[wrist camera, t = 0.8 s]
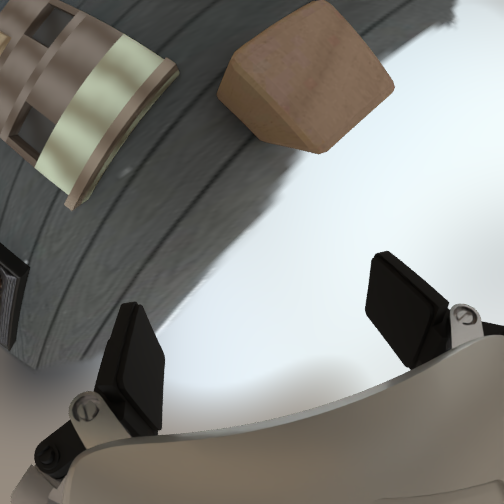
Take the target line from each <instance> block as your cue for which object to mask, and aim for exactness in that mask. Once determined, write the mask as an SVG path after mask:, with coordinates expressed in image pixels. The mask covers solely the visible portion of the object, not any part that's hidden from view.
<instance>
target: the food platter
mask: <svg viewBox="0 0 504 504" xmlns="http://www.w3.org/2000/svg"><path fill="white" fill-rule="evenodd" d="M29 270H30V267H29V266H28V265H27V264H25V263H24V262H23V261H22V260H20V259H19V258H18V257H17V256H16V255H14V254H13V253H12V252H11V251H10V250H8V249H7V248H6V247H5V246H4V245H3V244H1V243H0V344H1V345H2V346H4V347H5V348H6V349H8V350H9V351H10V350H11V348H12V346H13V344H14V343H15V341H16V334H17V327H18V321H19V315H20V309H21V304H22V299H23V295H24V290H25V286H26V282H27V278H28V274H29Z"/></svg>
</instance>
